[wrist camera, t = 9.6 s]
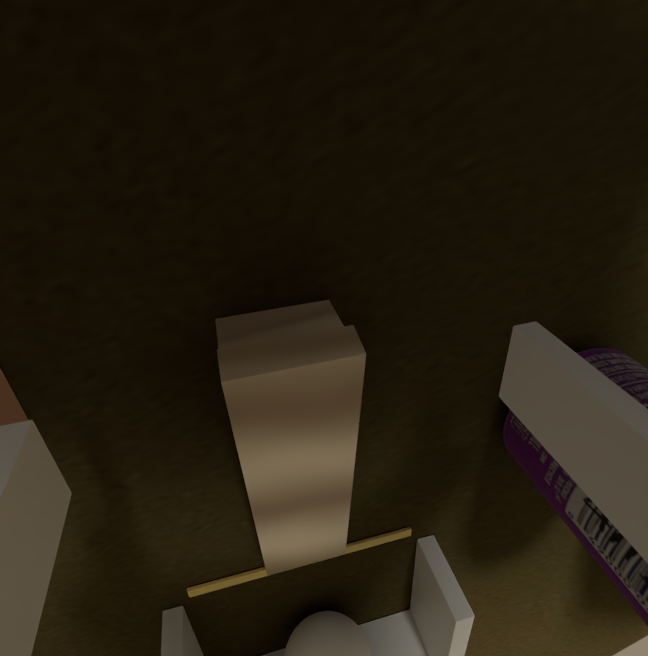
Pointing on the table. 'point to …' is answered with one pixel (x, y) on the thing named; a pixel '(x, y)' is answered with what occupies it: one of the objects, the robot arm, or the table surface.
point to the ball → (327, 637)
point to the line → (262, 571)
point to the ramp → (294, 425)
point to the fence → (388, 632)
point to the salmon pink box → (9, 404)
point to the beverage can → (570, 500)
